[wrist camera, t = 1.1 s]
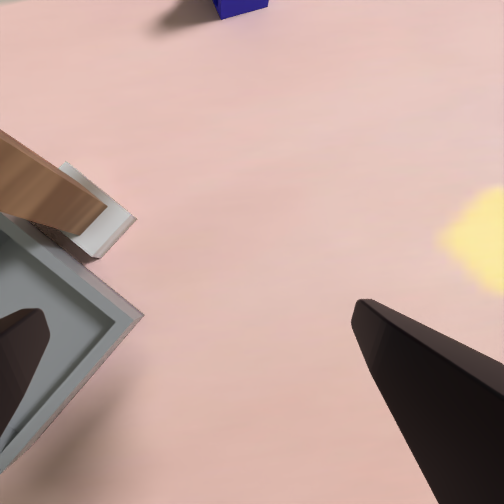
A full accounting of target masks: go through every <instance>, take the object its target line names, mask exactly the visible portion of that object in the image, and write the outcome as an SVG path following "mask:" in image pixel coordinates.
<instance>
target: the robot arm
mask: <svg viewBox="0 0 504 504" xmlns="http://www.w3.org/2000/svg"><path fill="white" fill-rule="evenodd" d="M351 326H352V329H353V332H354V334H355V337H356V339H357V342H358V344H359V346H360V349H361V351H362V354H363V356H364V359H365V361H366V364H367V366H368V368H369V371H370V373H371V375H372V377H373V379H374V381H375V383H376V385H377V387H378V389H379V391H380V392H381V394H382V396H383V398H384V400H385V402H386V404H387V406H388V408H389V410H390V412H391V413H392V415H393V417H394V419H395V421H396V423H397V425H398V427H399V429H400V431H401V433H402V435H403V436H404V438H405V440H406V442H407V444H408V446H409V448H410V450H411V452H412V454H413V456H414V457H415V459H416V461H417V463H418V465H419V467H420V469H421V471H422V473H423V475H424V477H425V478H426V480H427V482H428V484H429V486H430V488H431V490H432V492H433V494H434V496H435V498H436V500H437V501H438V503H439V504H504V365H503V364H502V363H500V362H498V361H496V360H494V359H492V358H490V357H488V356H486V355H484V354H482V353H480V352H478V351H476V350H474V349H472V348H470V347H468V346H466V345H464V344H462V343H460V342H458V341H456V340H454V339H452V338H450V337H448V336H446V335H444V334H442V333H440V332H437V331H435V330H433V329H431V328H429V327H427V326H425V325H423V324H421V323H419V322H417V321H415V320H413V319H411V318H409V317H407V316H405V315H403V314H401V313H399V312H397V311H395V310H393V309H391V308H389V307H387V306H385V305H383V304H381V303H379V302H377V301H375V300H372V299H359V300H358V301H357V302H356V305H355V308H354V312H353V316H352V319H351ZM49 340H50V330H49V327H48V324H47V321H46V318H45V314H44V312H43V311H42V309H40V308H24V309H20V310H18V311H16V312H14V313H11V314H9V315H7V316H5V317H3V318H1V319H0V438H1V436H2V434H3V432H4V431H5V429H6V427H7V425H8V424H9V422H10V420H11V419H12V417H13V415H14V413H15V412H16V410H17V408H18V406H19V405H20V403H21V401H22V399H23V397H24V395H25V393H26V391H27V389H28V387H29V385H30V383H31V381H32V378H33V376H34V374H35V372H36V369H37V367H38V365H39V363H40V361H41V358H42V356H43V354H44V352H45V349H46V347H47V345H48V343H49Z"/></svg>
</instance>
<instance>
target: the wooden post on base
mask: <svg viewBox="0 0 504 504" xmlns="http://www.w3.org/2000/svg"><path fill="white" fill-rule="evenodd" d="M0 212H3V213H6V214H10V215H13V216H16V217H20V218H23V219H26V220H29V221H33V222H36V223H39V224H43V225H46V226H49V227H53V228H56V229H58V230H59V231H61V232H62V233H63V234H64V235H66V236H67V237H68V238H69V239H70V240H72V241H73V242H74V243H75V244H77V245H78V246H79V247H80V248H82V249H83V250H84V251H85V252H86V253H88V254H89V255H90V256H91V257H97V258H102V257H103V256H104V254H105V253H106V252H107V251H108V250H109V249H110V248H111V247H112V246H113V245H114V244H115V243H116V242H117V240H118V239H119V238H120V237H121V236H122V235H123V234H124V233H125V232H126V231H127V230H128V229H129V227H130V226H131V225H132V224H133V223H134V222H135V221H136V220H137V218H136V217H134V216H133V215H132V214H131V213H129V212H128V211H127V210H126V209H125V208H123V207H122V206H121V205H120V204H118V203H117V202H116V201H115V200H114V199H112V198H111V197H110V196H109V195H108V194H106V193H105V192H104V191H103V190H101V189H100V188H99V187H98V186H97V185H95V184H94V183H93V182H92V181H90V180H89V179H88V178H87V177H86V176H84V175H83V174H82V173H81V172H79V171H78V170H77V169H76V168H74V167H73V166H72V165H70V164H69V163H68V162H65V163H64V164H63V165H61V166H60V167H59V168H57V167H55V166H54V165H52V164H51V163H49V162H48V161H46V160H45V159H43V158H42V157H40V156H39V155H38V154H36V153H35V152H33V151H32V150H30V149H29V148H27V147H26V146H24V145H23V144H21V143H20V142H18V141H17V140H15V139H14V138H12V137H11V136H9V135H8V134H6V133H5V132H3V131H2V130H1V129H0Z"/></svg>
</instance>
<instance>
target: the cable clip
mask: <svg viewBox="0 0 504 504" xmlns="http://www.w3.org/2000/svg"><path fill="white" fill-rule="evenodd" d="M268 1H269V0H213V3H214V5H215V7H216V10H217V12H218V14H219V16H220V19H221V20H222V19H226V18H229V17H233V16H236V15H240V14H243V13H247V12H251V11H254V10H258V9H261V8H265V7H268Z"/></svg>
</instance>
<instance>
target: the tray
mask: <svg viewBox="0 0 504 504" xmlns="http://www.w3.org/2000/svg"><path fill="white" fill-rule="evenodd" d="M24 308H40V309H42V311H43V312H44V314H45V318H46V321H47V324H48V327H49V330H50V340H49V343H48V345H47V347H46V349H45V352H44V354H43V356H42V358H41V361H40V363H39V365H38V367H37V369H36V372H35V374H34V376H33V378H32V381H31V383H30V385H29V387H28V389H27V391H26V393H25V395H24V397H23V399H22V401H21V403H20V405H19V406H18V408H17V410H16V412H15V413H14V415H13V417H12V419H11V420H10V422H9V424H8V425H7V427H6V429H5V431H4V432H3V434H2V436H1V438H0V474H1V473H2V472H4V471H5V470H6V469H7V468H8V467H9V466H10V465H11V464H13V463H14V462H15V461H16V460H17V459H18V458H19V457H20V456H22V455H23V454H24V453H25V452H26V451H27V450H28V449H29V448H30V447H31V446H32V445H33V444H34V443H35V441H36V440H37V439H38V438H39V437H40V436H41V435H42V433H43V432H44V431H45V430H46V429H47V428H48V426H49V425H50V424H51V423H52V422H53V421H54V419H55V418H56V417H57V416H58V415H59V414H60V412H61V411H62V410H63V409H64V408H65V407H66V405H67V404H68V403H69V402H70V401H71V400H72V398H73V397H74V396H75V395H76V394H77V393H78V392H79V390H80V389H81V388H82V387H83V386H84V385H85V383H86V382H87V381H88V380H89V379H90V378H91V376H92V375H93V374H94V373H95V372H96V371H97V369H98V368H99V367H100V366H101V365H102V364H103V362H104V361H105V360H106V359H107V358H108V357H109V356H110V354H111V353H112V352H113V351H114V350H115V349H116V347H117V346H118V345H119V344H120V343H121V342H122V340H123V339H124V338H125V337H126V336H127V335H128V333H129V332H130V331H131V330H132V329H133V328H134V326H135V325H136V324H137V323H138V322H139V321H140V319H141V318H142V317H143V316H144V314H143V313H141V312H140V311H139V310H138V309H136V308H135V307H134V306H133V305H131V304H130V303H129V302H128V301H127V300H125V299H124V298H123V297H122V296H120V295H119V294H118V293H117V292H115V291H114V290H113V289H112V288H110V287H109V286H108V285H107V284H106V283H104V282H103V281H102V280H101V279H99V278H98V277H97V276H96V275H94V274H93V273H92V272H91V271H89V270H88V269H87V268H86V267H85V266H83V265H82V264H81V263H80V262H78V261H77V260H76V259H75V258H73V257H72V256H71V255H70V254H68V253H67V252H66V251H65V250H64V249H62V248H61V247H60V246H59V245H57V244H56V243H55V242H54V241H52V240H51V239H50V238H49V237H47V236H46V235H45V234H44V233H43V232H41V231H40V230H39V229H38V228H36V227H35V226H34V225H33V224H31V223H30V222H29V221H28V220H26V219H23V218H20V217H16V216H13V215H10V214H6V213H3V212H0V319H1V318H3V317H5V316H7V315H9V314H11V313H14V312H16V311H18V310H20V309H24Z"/></svg>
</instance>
